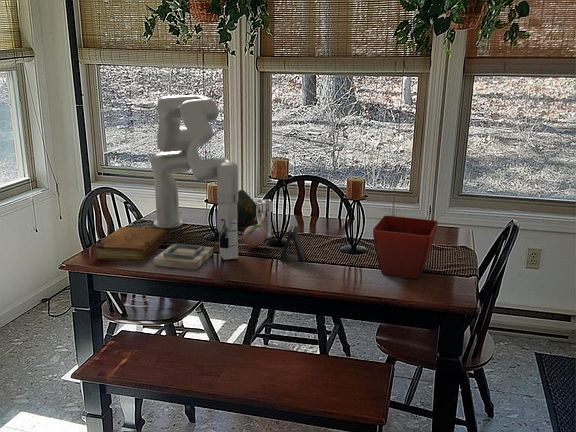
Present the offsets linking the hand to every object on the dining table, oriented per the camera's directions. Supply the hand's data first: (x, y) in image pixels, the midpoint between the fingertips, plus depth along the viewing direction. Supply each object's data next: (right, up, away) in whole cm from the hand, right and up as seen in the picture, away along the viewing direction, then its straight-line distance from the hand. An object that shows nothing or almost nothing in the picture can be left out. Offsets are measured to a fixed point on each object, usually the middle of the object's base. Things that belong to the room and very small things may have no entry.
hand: (228, 243), depth 211 cm
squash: (+1, +7, +45) cm, 45 cm away
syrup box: (0, -5, +2) cm, 5 cm away
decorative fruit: (+9, -3, +13) cm, 16 cm away
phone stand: (+23, -6, +3) cm, 24 cm away
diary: (-37, -4, +11) cm, 39 cm away
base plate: (-16, -6, +1) cm, 17 cm away
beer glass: (+12, +1, +26) cm, 29 cm away
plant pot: (+62, -9, -8) cm, 63 cm away
